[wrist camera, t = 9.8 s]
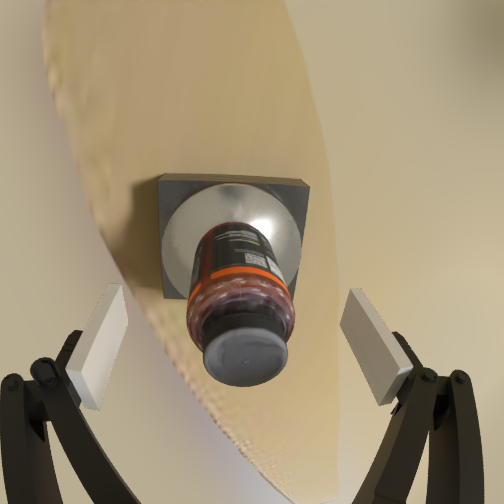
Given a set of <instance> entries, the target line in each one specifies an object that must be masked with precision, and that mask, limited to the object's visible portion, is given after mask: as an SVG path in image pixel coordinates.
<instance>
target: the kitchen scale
mask: <svg viewBox="0 0 504 504" xmlns="http://www.w3.org/2000/svg"><path fill="white" fill-rule="evenodd" d="M309 191H310V186H308V185H307V184H306V183H305V182H303V181H302V180H301V179H290V178H276V177H261V176H244V175H220V174H170V173H165V174H164V175H163V176H162V177H161V178H160V179H159V180H158V215H159V239H160V257H161V272H162V284H163V296H164V298H167V299H188V298H189V291H190V284H191V277H192V270H193V263H194V257H195V252H196V249H197V246H198V244H199V242H200V240H201V238H202V237H203V236H204V235H205V234H206V233H207V232H208V231H209V230H210V229H212V228H214V227H215V226H217V225H220V224H222V223H226V222H243V223H247V224H249V225H252V226H254V227H255V228H257V229H259V230H260V231H261V232H262V233H263V234H264V235H265V237H266V238H267V239H268V241H269V243H270V245H271V247H272V250H273V252H274V255H275V258H276V260H277V263H278V266H279V268H280V271H281V273H282V276H283V278H284V281H285V284H286V286H287V289H288V291H289V294H290V297H291V300H292V301H293V297H294V291H295V286H296V280H297V273H298V267H299V263H300V259H301V250H302V241H303V235H304V228H305V221H306V214H307V206H308V199H309Z"/></svg>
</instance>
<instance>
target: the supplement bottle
mask: <svg viewBox="0 0 504 504" xmlns="http://www.w3.org/2000/svg"><path fill="white" fill-rule="evenodd" d="M186 318H187V328H188V332H189V335H190V337H191V339H192V341H193V342H194V344H195V345H196V346H197V348H198V349H199V350H200V351H201V352H203V363H204V366H205V368H206V370H207V372H208V373H209V374H210V375H211V376H212V377H213V378H214V379H216V380H218V381H219V382H221V383H224V384H227V385H230V386H237V387H250V386H255V385H259V384H262V383H265V382H267V381H269V380H271V379H272V378H274V377H275V376H277V375H278V374H279V373H280V372H281V371H282V370H283V368H284V367H285V365H286V363H287V358H288V349H287V344H286V342H287V341H288V339H289V338H290V336H291V334H292V331H293V328H294V323H295V311H294V306H293V302H292V300H291V297H290V294H289V291H288V289H287V286H286V284H285V281H284V278H283V276H282V273H281V271H280V268H279V266H278V263H277V260H276V258H275V255H274V252H273V250H272V247H271V245H270V243H269V241H268V239H267V238H266V237H265V235H264V234H263V233H262V232H261V231H260V230H259V229H257V228H255V227H254V226H252V225H249V224H247V223H243V222H226V223H222V224H220V225H217V226H215V227H214V228H212V229H210V230H209V231H208V232H207V233H206V234H205V235H204V236H203V237H202V238H201V240H200V242H199V244H198V246H197V249H196V252H195V257H194V263H193V270H192V277H191V284H190V291H189V298H188V306H187V316H186Z"/></svg>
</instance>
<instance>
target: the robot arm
mask: <svg viewBox="0 0 504 504" xmlns="http://www.w3.org/2000/svg"><path fill="white" fill-rule="evenodd" d="M127 325H128V318H127V312H126V308H125V302H124V296H123V290H122V285H121V284H112V283H109V285H108V287H107V288H106V290H105V292H104V293H103V295H102V297H101V299H100V301H99V302H98V305H97V306H96V308H95V310H94V312H93V314H92V316H91V317H90V319H89V321H88V323H87V325H86V327H85V329H84V331H79V330H74V331H73V332H72V333H71V334H70V335H69V336H68V338H67V339H66V341H65V343H64V345H63V347H62V349H61V351H60V353H59V355H58V356H57V358H56V360H55V361H54V360H53V359H51V358H47V357H44V358H39V359H38V360H36V361H35V362H34V363H33V364H32V365H31V368H30V373H31V375H32V377H33V379H34V380H30V381H24V380H23V378H22V377H21V376H20V375H18V374H16V373H14V374H13V373H12V374H9V375H7V376H6V377H4V379H3V380H2V383H1V390H0V441H1V457H2V467H3V476H4V482H5V489H6V495H7V501H8V504H63V501H62V498H61V494H60V490H59V486H58V483H57V478H56V474H55V470H54V465H53V460H52V456H51V450H50V445H49V438H48V431H47V424H46V421H51V422H52V425H53V427H54V430H55V432H56V434H57V436H58V439H59V441H60V443H61V445H62V447H63V449H64V451H65V453H66V455H67V457H68V459H69V461H70V463H71V465H72V467H73V469H74V470H75V472H76V474H77V476H78V478H79V479H80V481H81V483H82V485H83V486H84V488H85V490H86V491H87V493H88V495H89V496H90V498H91V499H92V501H93V502H94V504H141V502H140V501H139V500H138V499H137V498H136V496H135V495H134V494H133V493H132V491H131V490H130V488H129V487H128V486H127V484H126V483H125V482H124V480H123V479H122V478H121V476H120V475H119V473H118V472H117V470H116V469H115V467H114V466H113V464H112V463H111V461H110V460H109V458H108V457H107V455H106V454H105V452H104V450H103V449H102V447H101V446H100V444H99V442H98V441H97V439H96V438H95V436H94V434H93V432H92V430H91V429H90V427H89V425H88V423H87V421H86V420H85V418H84V416H83V414H82V412H81V410H80V409H79V406H80V403H81V401H82V403H83V405H84V407H85V408H88V409H93V410H98V411H99V410H100V408H101V404H102V401H103V397H104V394H105V391H106V387H107V384H108V381H109V378H110V375H111V372H112V368H113V366H114V362H115V359H116V357H117V354H118V350H119V348H120V345H121V342H122V339H123V336H124V334H125V331H126V328H127ZM340 326H341V328H342V331H343V333H344V334H345V336H346V339H347V341H348V343H349V345H350V347H351V349H352V351H353V353H354V355H355V357H356V359H357V361H358V363H359V365H360V367H361V369H362V372H363V374H364V376H365V378H366V380H367V382H368V384H369V386H370V388H371V391H372V393H373V395H374V397H375V399H376V401H377V404H378V406H381V405H386V404H390V403H392V401H393V399H394V398H395V397H397V399H398V401H399V402H398V403H397V405H396V406H395V408H394V409H393V411H392V412H391V414H393V415H392V418H391V421H390V423H389V426H388V428H387V431H386V433H385V436H384V438H383V441H382V443H381V445H380V448H379V450H378V452H377V455H376V457H375V459H374V461H373V463H372V465H371V467H370V470H369V472H368V474H367V476H366V478H365V480H364V482H363V484H362V486H361V488H360V490H359V492H358V493H357V495H356V497H355V499H354V501H353V502H352V504H406V499H407V497H408V494H409V491H410V489H411V486H412V483H413V480H414V478H415V475H416V472H417V469H418V466H419V462H420V460H421V456H422V453H423V449H424V446H425V443H426V439H427V435H428V431H429V467H428V484H427V496H426V504H484V469H483V455H482V445H481V436H480V428H479V422H478V416H477V409H476V403H475V398H474V393H473V388H472V383H471V379H470V377H469V376H468V374H466V373H465V372H464V371H462V370H454V371H453V372H452V373H451V375H450V376H449V377H445V376H438V375H437V373H436V372H435V371H434V370H432V369H430V368H426V367H425V368H424V367H423V365H422V364H421V362H420V361H419V359H418V358H417V356H416V355H415V353H414V352H413V350H411V347H410V346H409V345H408V343H407V342H406V340H405V339H404V337H403V336H402V335H400V334H399V333H398V332H391V331H390V329H389V328H388V326H387V325H386V324H385V322H384V320H383V319H382V317H381V316H380V314H379V313H378V312H377V310H376V309H375V307H374V306H373V304H372V303H371V301H370V300H369V299H368V297H367V296H366V294H365V293H364V291H363V290H362V289H361V288H359V289H358V288H356V289H350V291H349V295H348V298H347V302H346V305H345V309H344V312H343V316H342V319H341V322H340Z"/></svg>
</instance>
